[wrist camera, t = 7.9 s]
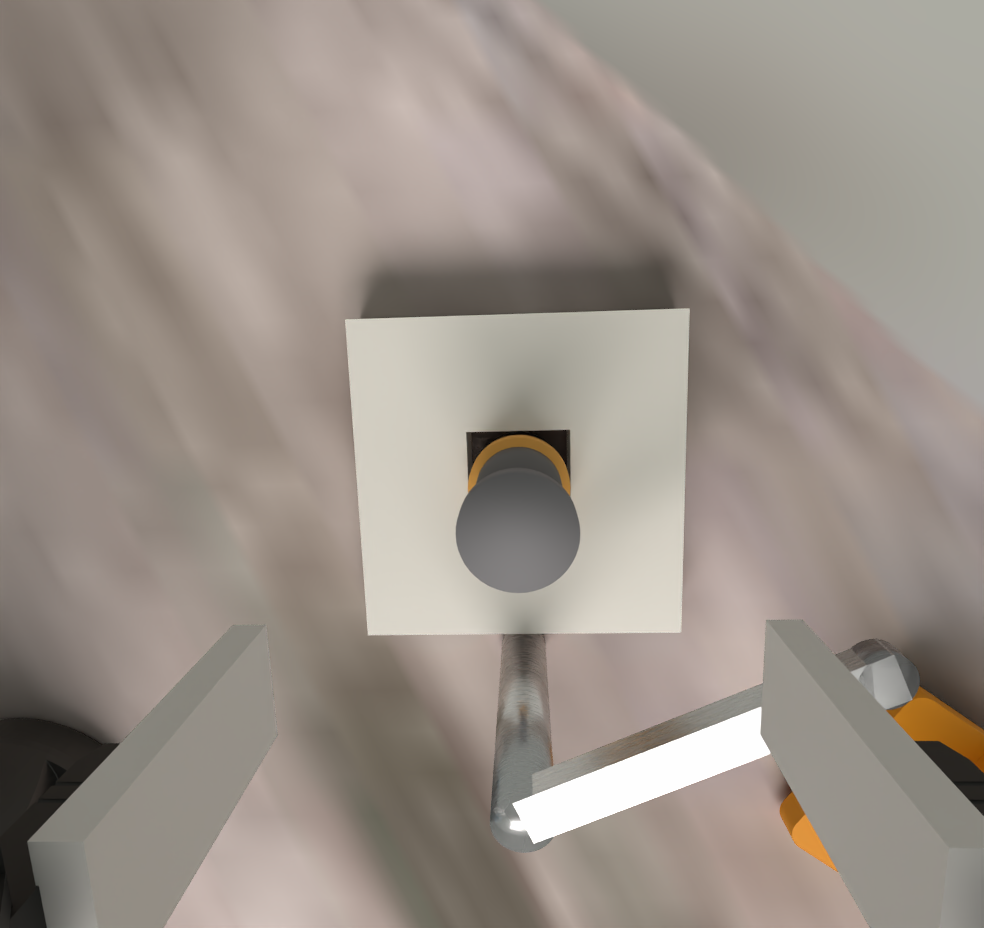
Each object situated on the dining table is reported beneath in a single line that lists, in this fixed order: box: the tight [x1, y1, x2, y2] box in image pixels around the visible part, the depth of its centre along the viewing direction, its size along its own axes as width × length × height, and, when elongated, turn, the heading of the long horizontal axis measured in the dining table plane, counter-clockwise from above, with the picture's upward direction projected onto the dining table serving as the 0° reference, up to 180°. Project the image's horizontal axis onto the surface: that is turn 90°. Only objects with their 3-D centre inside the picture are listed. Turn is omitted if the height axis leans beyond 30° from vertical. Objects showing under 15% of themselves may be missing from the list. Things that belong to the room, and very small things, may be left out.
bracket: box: [780, 686, 984, 873], centre depth 34 cm, size 11×7×12 cm, turn 146°
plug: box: [456, 431, 580, 593], centre depth 31 cm, size 5×5×12 cm
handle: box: [490, 634, 920, 853], centre depth 31 cm, size 2×16×14 cm, turn 116°
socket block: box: [345, 308, 690, 635], centre depth 35 cm, size 16×16×3 cm
